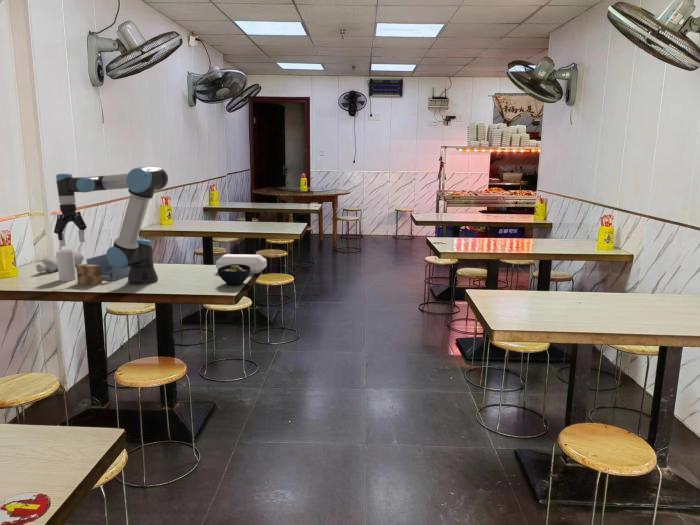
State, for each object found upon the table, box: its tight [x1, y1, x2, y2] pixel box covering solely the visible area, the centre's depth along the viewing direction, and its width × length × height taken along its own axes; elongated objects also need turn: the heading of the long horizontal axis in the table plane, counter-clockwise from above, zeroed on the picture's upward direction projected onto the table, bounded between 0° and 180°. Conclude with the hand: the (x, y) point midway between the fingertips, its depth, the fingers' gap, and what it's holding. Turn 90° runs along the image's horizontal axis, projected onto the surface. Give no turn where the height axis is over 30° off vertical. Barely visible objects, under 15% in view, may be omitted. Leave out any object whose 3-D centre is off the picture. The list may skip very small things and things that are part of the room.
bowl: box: [217, 264, 251, 287], centre depth 286 cm, size 17×17×10 cm
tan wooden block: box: [75, 263, 103, 286], centre depth 285 cm, size 12×5×10 cm, turn 74°
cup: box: [55, 248, 77, 282], centre depth 294 cm, size 8×8×16 cm
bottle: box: [35, 249, 85, 273], centre depth 320 cm, size 9×9×30 cm
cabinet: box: [85, 253, 130, 281], centre depth 302 cm, size 17×20×11 cm
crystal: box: [215, 253, 268, 274], centre depth 315 cm, size 14×10×28 cm
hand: (72, 244), depth 284 cm, fingers open, 13 cm apart
